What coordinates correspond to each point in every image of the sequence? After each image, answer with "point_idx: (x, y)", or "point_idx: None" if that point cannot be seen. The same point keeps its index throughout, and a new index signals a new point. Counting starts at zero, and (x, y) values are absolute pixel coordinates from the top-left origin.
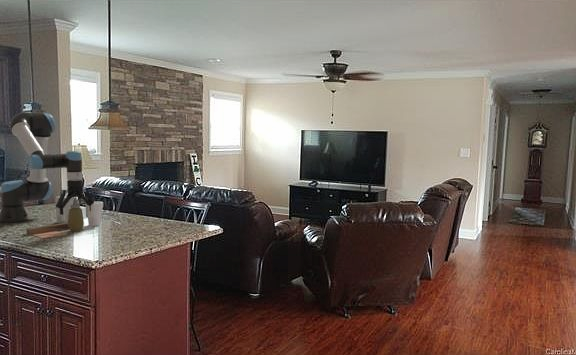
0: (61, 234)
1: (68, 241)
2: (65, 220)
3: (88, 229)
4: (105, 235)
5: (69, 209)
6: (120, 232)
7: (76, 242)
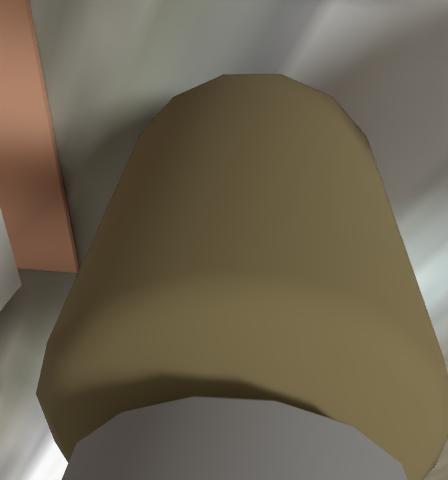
0: (26, 235)
1: (15, 426)
2: (18, 287)
3: (403, 203)
4: None
5: (54, 373)
6: (440, 473)
7: (51, 467)
